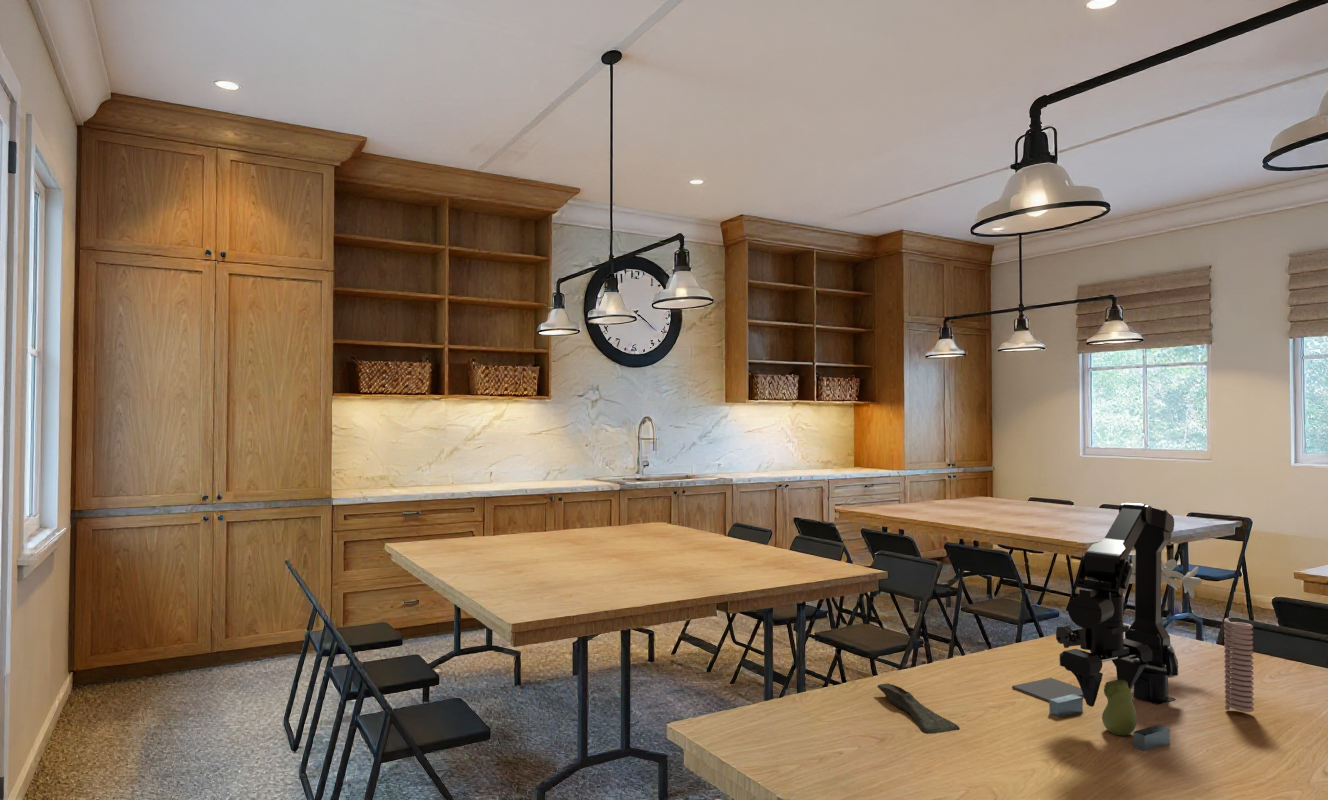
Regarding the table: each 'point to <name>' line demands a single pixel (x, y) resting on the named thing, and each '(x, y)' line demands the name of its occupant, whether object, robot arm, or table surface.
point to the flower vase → (1169, 574)
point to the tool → (917, 710)
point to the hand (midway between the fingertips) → (1106, 701)
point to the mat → (1048, 689)
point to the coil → (1238, 666)
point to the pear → (1119, 708)
